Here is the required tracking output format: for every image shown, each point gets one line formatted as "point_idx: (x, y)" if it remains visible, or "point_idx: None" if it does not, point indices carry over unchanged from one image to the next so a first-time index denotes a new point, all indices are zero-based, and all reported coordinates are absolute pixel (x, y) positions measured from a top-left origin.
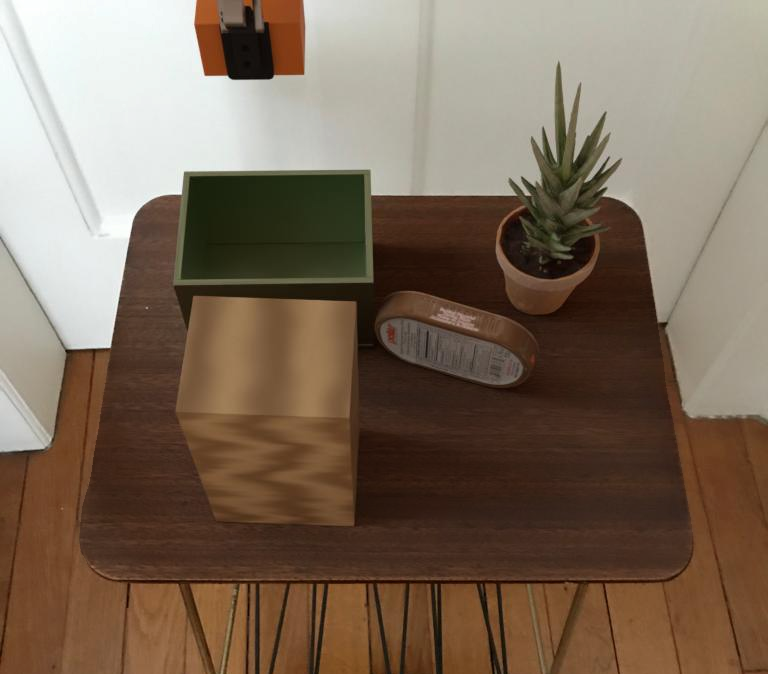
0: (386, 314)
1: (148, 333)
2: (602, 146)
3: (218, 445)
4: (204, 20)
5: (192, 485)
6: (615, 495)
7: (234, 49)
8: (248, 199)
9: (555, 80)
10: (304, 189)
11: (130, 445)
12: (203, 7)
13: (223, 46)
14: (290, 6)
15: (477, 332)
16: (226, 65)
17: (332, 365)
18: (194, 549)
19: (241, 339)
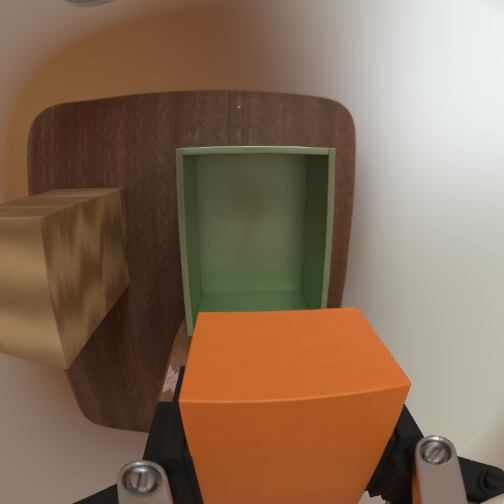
0: (179, 331)
1: (211, 111)
2: None
3: None
4: (198, 423)
5: (77, 168)
6: (114, 408)
7: (147, 442)
8: (318, 208)
9: None
10: (318, 266)
11: (107, 116)
12: (258, 419)
13: (170, 417)
14: None
15: (161, 391)
16: (177, 383)
17: (11, 343)
18: (40, 178)
19: (9, 270)
